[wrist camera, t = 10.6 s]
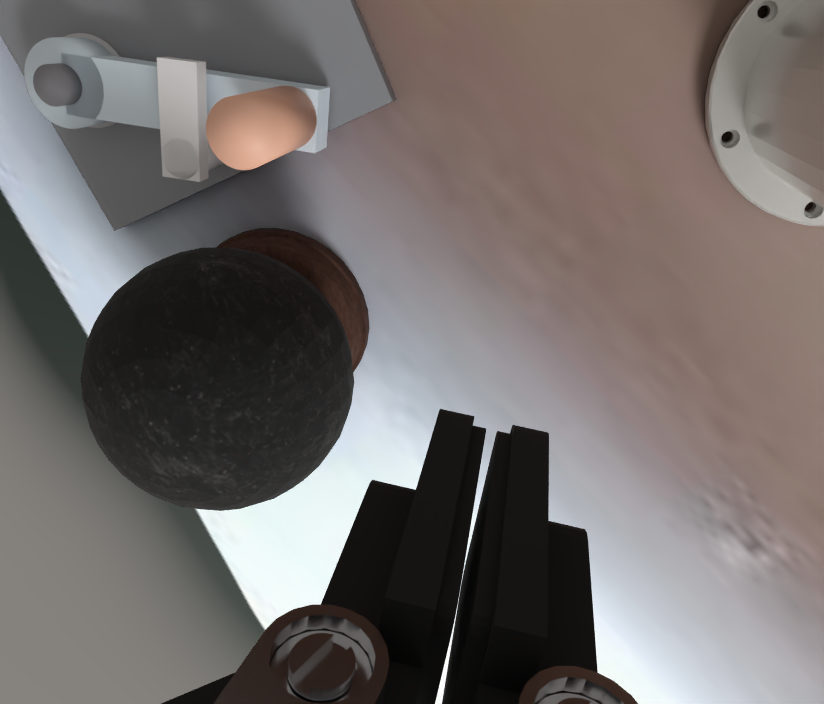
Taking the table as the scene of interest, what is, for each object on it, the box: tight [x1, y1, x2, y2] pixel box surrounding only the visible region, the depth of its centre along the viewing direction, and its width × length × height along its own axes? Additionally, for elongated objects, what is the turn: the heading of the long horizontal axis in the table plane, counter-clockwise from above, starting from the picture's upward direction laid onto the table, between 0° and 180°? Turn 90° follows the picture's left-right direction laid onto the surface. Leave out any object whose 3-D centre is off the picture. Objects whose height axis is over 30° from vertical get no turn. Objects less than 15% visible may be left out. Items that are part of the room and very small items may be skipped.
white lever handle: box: [24, 37, 330, 170], centre depth 33 cm, size 16×4×8 cm, turn 83°
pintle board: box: [0, 0, 396, 231], centre depth 35 cm, size 18×14×5 cm
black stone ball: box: [81, 228, 369, 511], centre depth 36 cm, size 13×13×15 cm
